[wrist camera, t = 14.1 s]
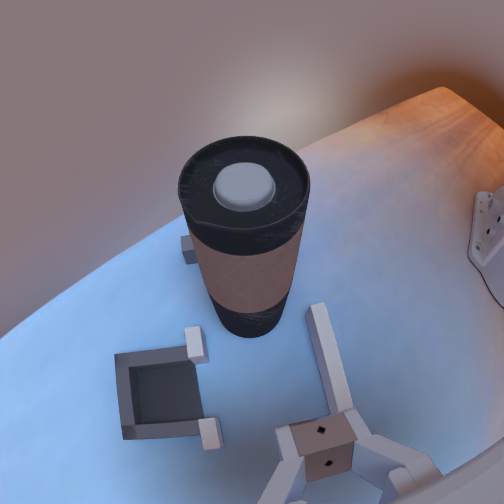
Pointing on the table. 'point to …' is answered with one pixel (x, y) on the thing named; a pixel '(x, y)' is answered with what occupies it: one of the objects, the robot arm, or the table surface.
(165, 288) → the table surface
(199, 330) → the blocks
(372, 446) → the robot arm
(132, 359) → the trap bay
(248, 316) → the travel mug
